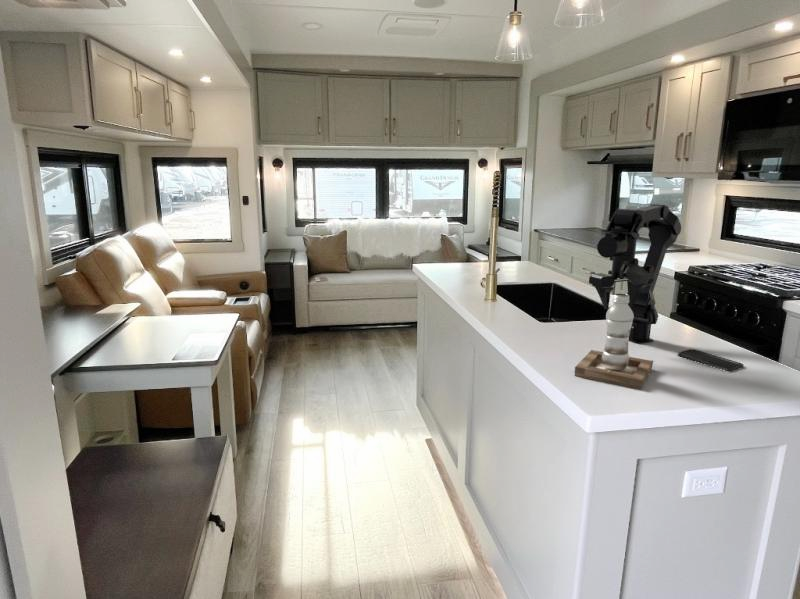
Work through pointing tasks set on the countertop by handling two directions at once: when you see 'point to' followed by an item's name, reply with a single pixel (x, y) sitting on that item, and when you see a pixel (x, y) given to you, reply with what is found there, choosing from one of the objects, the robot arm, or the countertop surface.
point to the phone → (710, 360)
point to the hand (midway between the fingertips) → (618, 307)
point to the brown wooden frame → (627, 377)
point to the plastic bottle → (617, 333)
